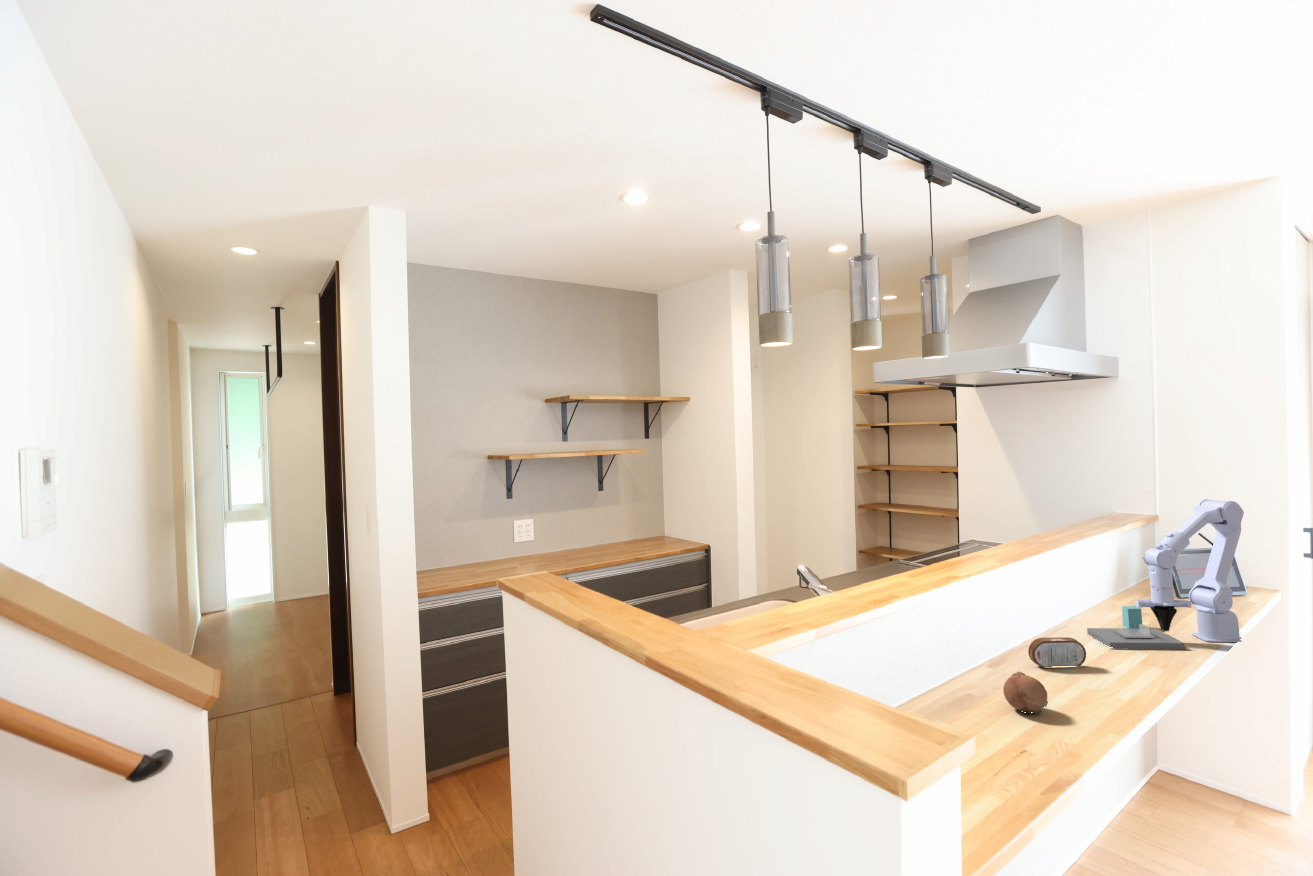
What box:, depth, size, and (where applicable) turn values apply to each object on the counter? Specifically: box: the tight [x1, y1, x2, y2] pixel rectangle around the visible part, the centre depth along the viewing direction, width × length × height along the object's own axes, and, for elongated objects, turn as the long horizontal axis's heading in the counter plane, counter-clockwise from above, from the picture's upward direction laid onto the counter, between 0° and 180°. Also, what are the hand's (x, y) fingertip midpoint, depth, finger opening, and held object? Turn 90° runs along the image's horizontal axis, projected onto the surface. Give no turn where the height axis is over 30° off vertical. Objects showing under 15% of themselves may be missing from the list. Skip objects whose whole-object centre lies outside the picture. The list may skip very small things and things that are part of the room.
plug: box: [1121, 605, 1143, 628], centre depth 216 cm, size 4×4×7 cm
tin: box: [1027, 636, 1087, 668], centre depth 183 cm, size 15×3×8 cm, turn 84°
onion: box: [1003, 671, 1049, 714], centre depth 155 cm, size 10×9×10 cm
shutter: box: [1113, 623, 1154, 639], centre depth 202 cm, size 8×8×2 cm
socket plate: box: [1086, 627, 1186, 650], centre depth 202 cm, size 20×16×2 cm
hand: (1164, 630), depth 200 cm, fingers closed
